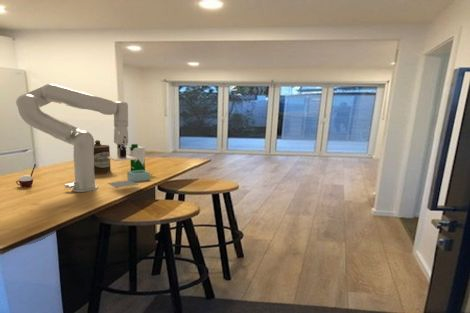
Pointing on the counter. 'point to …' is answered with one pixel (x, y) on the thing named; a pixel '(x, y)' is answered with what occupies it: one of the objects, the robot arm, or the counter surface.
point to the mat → (122, 184)
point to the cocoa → (26, 179)
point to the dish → (138, 175)
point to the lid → (118, 158)
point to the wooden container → (101, 158)
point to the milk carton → (137, 157)
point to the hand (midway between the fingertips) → (121, 155)
